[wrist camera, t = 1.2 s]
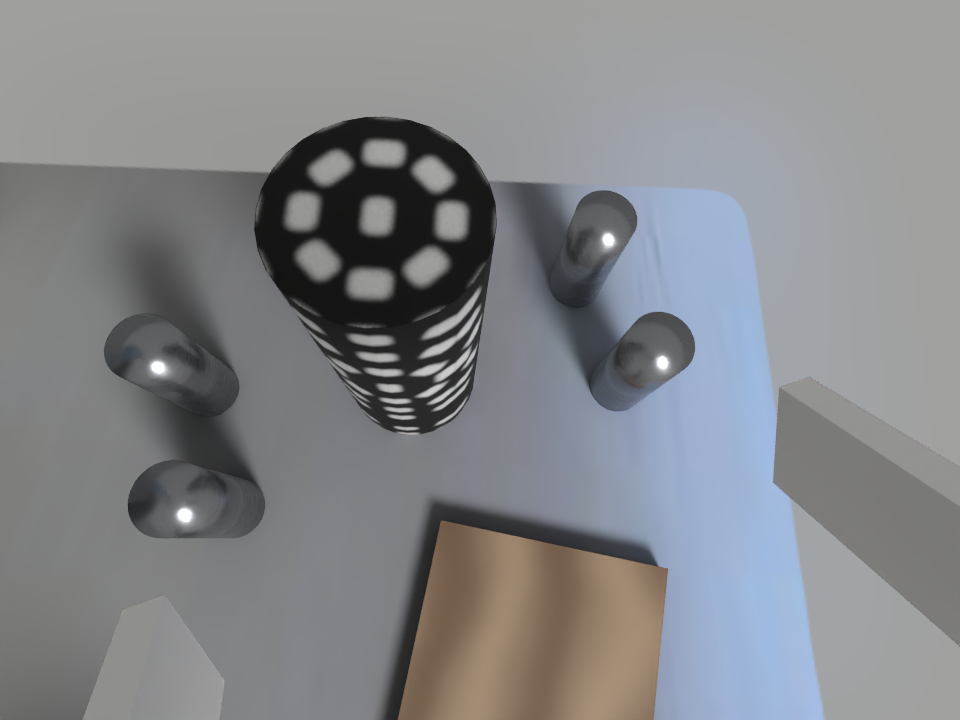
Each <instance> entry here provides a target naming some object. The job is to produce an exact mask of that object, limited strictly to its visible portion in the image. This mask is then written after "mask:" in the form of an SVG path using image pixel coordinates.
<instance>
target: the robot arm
mask: <svg viewBox="0 0 960 720" xmlns="http://www.w3.org/2000/svg"><path fill="white" fill-rule="evenodd" d="M773 483H774V484H775V485H776V486H778V487H779V488H780V489H781V490H782V491H783V492H784V493H786V494H787V495H788V496H789V497H790V498H791V499H792V500H794V501H795V502H796V503H797V504H798V505H799V506H800V507H802V508H803V509H804V510H805V511H806V512H807V513H808V514H809V515H811V516H812V517H813V518H814V519H815V520H816V521H818V522H819V523H820V524H821V525H822V526H823V527H824V528H826V529H827V530H828V531H829V532H830V533H831V534H832V535H833V536H835V537H836V538H837V539H838V540H839V541H840V542H842V543H843V544H844V545H845V546H846V547H847V548H848V549H849V550H851V551H852V552H853V553H854V554H855V555H856V556H857V557H859V558H860V559H861V560H862V561H863V562H864V563H865V564H867V565H868V566H869V567H870V568H871V569H872V570H873V571H874V572H876V573H877V574H878V575H879V576H880V577H881V578H882V579H884V580H885V581H886V582H887V583H888V584H889V585H890V586H892V587H893V588H894V589H895V590H896V591H897V592H898V593H900V594H901V595H902V596H903V597H904V598H905V599H906V600H907V601H909V602H910V603H911V604H912V605H913V606H914V607H915V608H917V609H918V610H919V611H920V612H921V613H922V614H923V615H925V616H926V617H927V618H928V619H929V620H930V621H931V622H933V623H934V624H935V625H936V626H937V627H938V628H939V629H941V630H942V631H943V632H944V633H945V634H946V635H948V636H949V637H950V638H951V639H952V640H953V641H954V642H955V643H956V644H958V645H959V646H960V467H959V466H958V465H956V464H955V463H953V462H951V461H950V460H948V459H946V458H944V457H943V456H941V455H940V454H938V453H936V452H935V451H933V450H931V449H930V448H928V447H926V446H924V445H923V444H921V443H920V442H918V441H916V440H914V439H913V438H911V437H909V436H908V435H906V434H904V433H903V432H901V431H899V430H898V429H896V428H894V427H893V426H891V425H889V424H888V423H886V422H884V421H883V420H881V419H879V418H878V417H876V416H874V415H873V414H871V413H869V412H868V411H866V410H864V409H863V408H861V407H859V406H858V405H856V404H854V403H853V402H851V401H849V400H848V399H846V398H844V397H843V396H841V395H839V394H838V393H836V392H834V391H833V390H831V389H829V388H828V387H826V386H824V385H823V384H821V383H819V382H818V381H816V380H814V379H813V378H811V377H808V378H805V379H802V380H799V381H796V382H793V383H790V384H787V385H784V386H781V387H779V398H778V413H777V429H776V445H775V461H774V476H773ZM224 685H225V681H224V679H223V678H222V676H221V675H220V673H219V672H218V671H217V669H216V668H215V666H214V665H213V663H212V662H211V660H210V659H209V658H208V656H207V655H206V653H205V652H204V650H203V649H202V648H201V646H200V645H199V643H198V642H197V640H196V639H195V638H194V636H193V635H192V633H191V632H190V630H189V629H188V627H187V626H186V625H185V623H184V622H183V620H182V619H181V617H180V616H179V615H178V613H177V612H176V610H175V609H174V607H173V606H172V604H171V603H170V602H169V600H168V599H167V597H166V596H165V595H163V596H160V597H157V598H154V599H151V600H148V601H145V602H143V603H140V604H137V605H134V606H131V607H128V608H125V609H123V610H122V613H121V616H120V618H119V621H118V624H117V627H116V629H115V632H114V635H113V638H112V640H111V643H110V646H109V649H108V651H107V654H106V657H105V660H104V662H103V665H102V668H101V671H100V673H99V676H98V679H97V682H96V684H95V687H94V690H93V693H92V695H91V698H90V701H89V704H88V706H87V709H86V712H85V715H84V717H83V720H219V718H220V712H221V705H222V698H223V692H224Z"/></svg>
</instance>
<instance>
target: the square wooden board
mask: <svg viewBox="0 0 960 720" xmlns="http://www.w3.org/2000/svg"><path fill="white" fill-rule="evenodd" d="M667 573H668V569H667V568H662V567H657V566H653V565H648V564H643V563H639V562H634V561H629V560H625V559H620V558H615V557H611V556H606V555H601V554H597V553H592V552H587V551H583V550H578V549H573V548H569V547H564V546H559V545H554V544H550V543H545V542H540V541H536V540H531V539H526V538H522V537H517V536H512V535H508V534H503V533H498V532H494V531H489V530H484V529H480V528H475V527H470V526H466V525H461V524H456V523H452V522H447V521H442V520H441V523H440V528H439V532H438V537H437V542H436V546H435V551H434V555H433V560H432V565H431V569H430V574H429V578H428V583H427V588H426V592H425V597H424V601H423V606H422V611H421V615H420V620H419V625H418V629H417V634H416V638H415V643H414V648H413V652H412V657H411V661H410V666H409V671H408V675H407V680H406V684H405V689H404V694H403V698H402V703H401V708H400V712H399V717H398V720H653V718H654V707H655V697H656V687H657V676H658V666H659V656H660V645H661V635H662V624H663V614H664V604H665V593H666V583H667Z"/></svg>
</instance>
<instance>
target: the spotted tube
mask: <svg viewBox="0 0 960 720" xmlns="http://www.w3.org/2000/svg"><path fill="white" fill-rule="evenodd" d="M496 226H497V218H496V205H495V200H494V197H493V194H492V190H491V187H490V184H489V182H488V180H487V178H486V176H485V175H484V173H483V171H482V169H481V168H480V166H479V165H478V163H477V162H476V161H475V160H474V159H473V158H472V156H471V155H470V154H469V153H468V152H467V151H466V150H465V149H464V148H463V147H462V146H460V145H459V144H458V143H456V142H455V141H454V140H453V139H451V138H450V137H449V136H447V135H444V134H443V133H441V132H439V131H437V130H435V129H433V128H432V127H429V126H426V125H423V124H420V123H417V122H414V121H411V120H404V119H398V118H391V117H364V118H358V119H352V120H347V121H342V122H340V123H337V124H334V125H331V126H328V127H325V128H322V129H321V130H319V131H317V132H315V133H313V134H312V135H310V136H308V137H306V138H304V139H303V140H301V141H300V142H299V143H298V144H297V145H295V146H294V147H293V148H292V149H290V150H289V151H288V152H287V153H286V154H285V155H284V156H283V157H282V158H281V160H280V161H279V162H278V163H277V164H276V165H275V167H274V168H273V169H272V171H271V172H270V174H269V176H268V178H267V180H266V182H265V183H264V185H263V187H262V189H261V193H260V196H259V199H258V203H257V206H256V213H255V228H254V230H255V236H256V242H257V248H258V252H259V255H260V257H261V259H262V262H263V264H264V267H265V269H266V271H267V273H268V274H269V275H270V277H271V278H272V280H273V281H274V283H275V284H276V286H277V287H278V289H279V290H280V291H281V293H282V294H283V296H284V297H285V299H286V300H287V302H288V303H289V304H290V306H291V307H292V309H293V310H294V312H295V313H296V315H297V316H298V318H299V319H300V320H301V322H302V323H303V325H304V326H305V328H306V329H307V331H308V332H309V334H310V335H311V336H312V338H313V339H314V341H315V342H316V344H317V345H318V347H319V348H320V349H321V351H322V352H323V354H324V355H325V357H326V358H327V360H328V361H329V363H330V364H331V365H332V367H333V368H334V370H335V371H336V373H337V374H338V376H339V377H340V379H341V380H342V381H343V383H344V384H345V386H346V387H347V389H348V390H349V392H350V393H351V394H352V396H353V397H354V399H355V400H356V402H357V403H358V405H359V406H360V407H361V409H362V410H363V412H364V413H365V414H366V415H367V416H368V417H369V418H370V419H371V420H372V421H373V422H374V423H376V424H378V425H379V426H381V427H383V428H384V429H387V430H390V431H392V432H395V433H401V434H407V435H411V434H423V433H427V432H431V431H434V430H436V429H438V428H441V427H443V426H445V425H446V424H447V423H449V422H450V421H451V420H453V419H454V418H455V417H456V416H457V415H458V414H459V413H460V412H461V411H462V409H463V408H464V406H465V404H466V403H467V401H468V400H469V397H470V394H471V391H472V389H473V382H474V375H475V368H476V361H477V355H478V348H479V341H480V334H481V328H482V321H483V314H484V307H485V300H486V294H487V287H488V280H489V273H490V267H491V260H492V253H493V246H494V239H495V233H496Z"/></svg>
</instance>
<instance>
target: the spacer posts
mask: <svg viewBox="0 0 960 720" xmlns="http://www.w3.org/2000/svg"><path fill="white" fill-rule="evenodd" d="M636 226H637V215H636V212H635V209H634V208H633V206H632V205H631V203H630V202H629V201H628V200H627V199H626V198H624V197H623V196H621V195H620V194H617V193H615V192H611V191H595V192H592V193H590V194H588V195H586V196H585V197H583V198H582V199H581V201H580V202H579V203H578V205H577V208H576V210H575V213H574V216H573V218H572V221H571V223H570V226H569V229H568V231H567V234H566V236H565V239H564V242H563V244H562V247H561V250H560V252H559V255H558V257H557V260H556V263H555V265H554V268H553V271H552V273H551V276H550V280H549V285H550V289H551V292H552V294H553V295H554V297H555V298H556V299H557V300H558V301H559V302H561V303H563V304H565V305H567V306H571V307H580V306H584V305H586V304H588V303H590V302H591V301H592V300H593V299H594V298H595V296H596V295H597V293H598V292H599V290H600V288H601V287H602V285H603V283H604V282H605V280H606V278H607V277H608V275H609V273H610V272H611V270H612V268H613V267H614V265H615V263H616V262H617V260H618V258H619V257H620V255H621V253H622V252H623V250H624V248H625V247H626V245H627V243H628V242H629V240H630V238H631V237H632V235H633V233H634V231H635V229H636ZM694 352H695V342H694V338H693V335H692V333H691V331H690V329H689V328H688V326H687V325H686V324H685V323H684V322H683V321H682V320H680V319H679V318H678V317H676V316H674V315H671V314H669V313H664V312H652V313H648V314H646V315H644V316H642V317H640V318H639V319H638V320H637V321H636V322H635V323H634V324H633V325H632V326H631V328H630V329H629V330H628V331H627V332H626V334H625V335H624V336H623V337H622V338H621V339H620V341H619V342H618V343H617V344H616V345H615V346H614V348H613V349H612V350H611V351H610V352H609V353H608V355H607V356H606V357H605V358H604V359H603V360H602V362H601V363H600V364H599V365H598V366H597V367H596V369H595V370H594V371H593V373H592V375H591V379H590V389H591V393H592V395H593V397H594V398H595V400H596V401H597V402H598V403H599V404H600V405H601V406H603V407H604V408H606V409H608V410H612V411H624V410H627V409H629V408H631V407H633V406H634V405H635V404H637V403H638V402H639V401H641V400H642V399H644V398H645V397H646V396H648V395H649V394H651V393H652V392H653V391H655V390H656V389H657V388H659V387H660V386H662V385H663V384H664V383H666V382H667V381H669V380H670V379H671V378H673V377H674V376H675V375H677V374H678V373H680V372H681V371H682V370H684V369H685V368H686V367H687V366H688V365H689V364H690V362H691V361H692V359H693V356H694ZM104 356H105V360H106V363H107V365H108V367H109V368H110V369H111V371H112V372H114V373H115V374H116V375H118V376H119V377H121V378H124V379H126V380H128V381H130V382H132V383H134V384H136V385H138V386H140V387H142V388H144V389H146V390H148V391H150V392H152V393H154V394H156V395H158V396H160V397H162V398H165V399H167V400H169V401H171V402H173V403H175V404H177V405H179V406H181V407H183V408H185V409H187V410H189V411H191V412H193V413H195V414H198V415H201V416H215V415H218V414H221V413H223V412H224V411H226V410H227V409H228V408H230V407H231V406H232V404H233V403H234V402H235V400H236V398H237V396H238V392H239V382H238V378H237V376H236V375H235V373H234V372H233V371H232V370H231V369H230V368H229V367H227V366H226V365H225V364H223V363H222V362H221V361H219V360H218V359H217V358H216V357H214V356H213V355H212V354H210V353H209V352H208V351H206V350H205V349H204V348H203V347H201V346H200V345H199V344H197V343H196V342H195V341H193V340H192V339H191V338H190V337H188V336H187V335H186V334H184V333H183V332H182V331H180V330H179V329H178V328H176V327H175V326H174V325H173V324H171V323H170V322H169V321H167V320H166V319H164V318H163V317H161V316H158V315H155V314H138V315H134V316H131V317H129V318H127V319H125V320H123V321H122V322H120V323H119V324H118V325H117V326H116V327H115V328H114V329H113V330H112V331H111V333H110V334H109V336H108V338H107V340H106V343H105V348H104ZM264 510H265V500H264V496H263V493H262V491H261V490H260V488H259V487H258V486H257V485H256V484H254V483H253V482H251V481H249V480H245V479H242V478H238V477H235V476H231V475H228V474H224V473H221V472H217V471H214V470H210V469H207V468H203V467H200V466H196V465H193V464H189V463H186V462H182V461H177V460H170V461H164V462H160V463H158V464H155V465H153V466H151V467H150V468H148V469H147V470H146V471H144V472H143V473H142V474H141V475H140V476H139V477H138V479H137V480H136V481H135V483H134V485H133V487H132V489H131V491H130V494H129V499H128V512H129V516H130V518H131V521H132V522H133V524H134V525H135V527H136V528H137V529H138V530H139V531H140V532H142V533H143V534H145V535H148V536H150V537H154V538H238V537H242V536H244V535H246V534H248V533H250V532H251V531H252V530H253V529H255V528H256V526H257V525H258V524H259V522H260V521H261V519H262V517H263V514H264Z"/></svg>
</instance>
